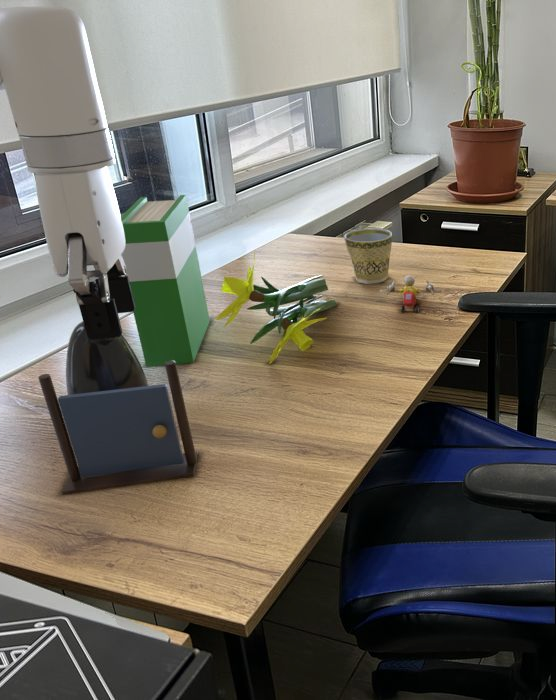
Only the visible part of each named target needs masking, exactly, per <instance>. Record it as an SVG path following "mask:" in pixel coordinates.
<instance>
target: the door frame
mask: <svg viewBox="0 0 556 700" xmlns="http://www.w3.org/2000/svg"><path fill="white" fill-rule="evenodd" d="M164 367H165V368H164V369H165V372H166V377H167V380H168V385H169V389H170V394H171V398H172V403H173V407H174V412H175V416H176V421H177V425H178V429H179V435H180V438H181V442H182V447H183V452H184V453H182V455H183V459H184V461H183V463H182V464H175V465H168V466H160V467H153V468H145V469H138V470H131V471H123V472H116V473H108V474H101V475H94V476H86V477H82V476H81V473H80V470H79V467H78V463H77V460H76V457H75V454H74V450H73V447H72V444H71V440H70V437H69V434H68V431H67V427H66V424H65V421H64V418H63V414H62V411H61V408H60V405H59V401H58V396H57V393H56V389H55V386H54V383H53V379H52V376H51V374H49V373H44V374H41V375H39V376H38V381H39V384H40V388H41V391H42V393H43V398H44V401H45V404H46V407H47V410H48V413H49V415H50V419H51V422H52V426H53V429H54V432H55V436H56V439H57V442H58V445H59V448H60V451H61V454H62V457H63V460H64V464H65V467H66V470H67V473H68V477H67V479H66V481H65V484H64V485H63V488H62V490H61V494H62V496H63V495H70V494H71V495H72V494H78V493H79V494H80V493H86V492H93V491H100V490H109V489H114V488H121V487H122V488H123V487H130V486H135V485H143V484H144V485H145V484H150V483H151V484H152V483H158V482H164V481H170V480H171V481H172V480H179V479H187V478H193V477H195V472H196V467H197V464H198V459H199V451H196V450H195V446H194V440H193V436H192V431H191V428H190V422H189V417H188V414H187V409H186V404H185V400H184V395H183V390H182V386H181V380H180V377H179V372H178V366H177V364H176V362H175V361H173V360H171V361H167V362H165V365H164Z"/></svg>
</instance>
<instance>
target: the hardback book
mask: <svg viewBox="0 0 556 700" xmlns="http://www.w3.org/2000/svg"><path fill="white" fill-rule="evenodd" d="M121 220H122V224H123V229H124V235H125V248H124V251H123V252H122V258H123V261H124V263H125V266H126V270H127V274H126V275H124V276H128V278H129V283H130V287H131V291H132V295H133V299H134V304H135V310H134V311H133V312H132V313H133V317H134V320H135V325H136V326H135V327H136V329H137V333H138V338H139V342H140V346H141V350H142V355H143V359H144V364H145V367H158V366H165V362H167V361H171V360H173V361H175V362H176V365H180V364H181V365H182V364H192V363H195V360H196V358H197V355H198V353H199V350H200V348H201V345H202V342H203V340H204V338H205V335H206V332H207V329H208V327H209V325H210V322H211V321H210V314H209V309H208V304H207V298H206V293H205V288H204V283H203V277H202V272H201V267H200V262H199V261H200V260H199V256H198V250H197V246H196V240H195V235H194V229H193V224H192V219H191V213H190V208H189V203H188V198H187V194H180V195H179V196H178V197H177V199H171V200H153V201H151V200H150V201H148V198H147V196H141V197H139V198H138V199H137V200H136V201H135V202H134V203H133V204H132V205H131V206H130V207H129V208H128V209H127V210H126V211H125V212H124V213H123V214H122V215H121Z"/></svg>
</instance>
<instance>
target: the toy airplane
mask: <svg viewBox="0 0 556 700" xmlns="http://www.w3.org/2000/svg"><path fill="white" fill-rule="evenodd" d="M415 281H416V280H415V277H414V276H412V275H406V276H405V277H404V279H403V282H404V284H405V286H404V287H403V288H399V289H396V286H395V283H396V281H395V280H392V283H390V284H387V287H386V289H379V293H380V294H386V296H389V295H390V294H400V295H401V296H403V299H402V304H403V305H401V311H400V312H401V314H402V313H405V312H414V311H415V313H419V310H420V308H419V305H417V296H421V297H422V296H424V295H425V294H431V296H435V294H442V289H435V287H434V285H433V284H432V283H430V282H429V280H428V279H427V280H425V282H426V285H425V289H421V288H418V289H417V288H416V287H415V286H414V285H415ZM414 306H415V307H414Z"/></svg>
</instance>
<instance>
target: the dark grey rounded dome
mask: <svg viewBox="0 0 556 700" xmlns="http://www.w3.org/2000/svg"><path fill="white" fill-rule="evenodd" d="M65 384H66V393H67V394H66V395H73V394H82V393H91V392H100V391H108V390H117V389H126V388H135V387H144V386H149V382H148V378H147V376H146V374H145V371H144V369H143V366H142V365H141V363H140V360H139V358H138V356H137V355H136V353H135V351H134V349H133V348H132V346H131V345H130V344H129V341H128V340H127V339H126V338H125V336H124V335H123V334H122V335H121V336H120V337H116V338H106V339H96V340H90V339H89V338H88V337H87V333H86V330H85V326H84V322H83V320H82V321H81V322H79V323H78V324H77V325H76V326H74V328H73V330H72V332H71V334H70V337H69V340H68V344H67V349H66V358H65Z"/></svg>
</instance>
